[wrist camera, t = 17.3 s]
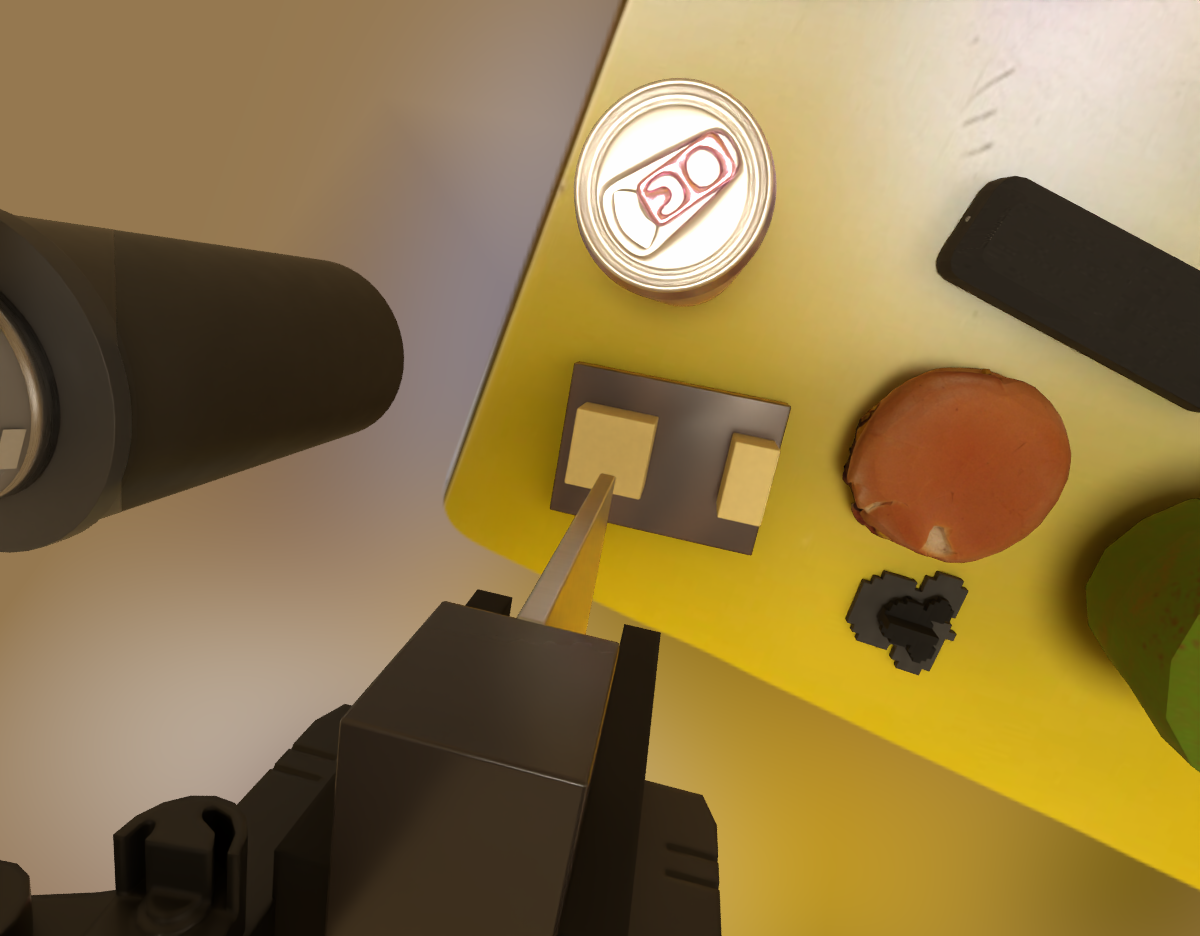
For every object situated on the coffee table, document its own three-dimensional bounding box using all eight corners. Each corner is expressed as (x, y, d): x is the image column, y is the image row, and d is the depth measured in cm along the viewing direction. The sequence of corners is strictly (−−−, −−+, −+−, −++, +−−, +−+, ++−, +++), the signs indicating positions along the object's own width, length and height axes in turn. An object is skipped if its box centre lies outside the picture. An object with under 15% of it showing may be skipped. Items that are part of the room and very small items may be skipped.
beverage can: (767, 263, 31) (821, 219, 17) (666, 328, 33) (637, 338, 18) (706, 158, 31) (709, 17, 16) (606, 229, 32) (527, 160, 18)
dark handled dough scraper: (561, 464, 15) (336, 719, 6) (656, 484, 15) (588, 785, 6) (521, 702, 17) (302, 1196, 8) (605, 724, 17) (488, 1260, 7)
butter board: (554, 503, 36) (549, 509, 35) (578, 361, 34) (574, 362, 33) (749, 548, 35) (751, 556, 34) (788, 403, 33) (791, 406, 32)
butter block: (573, 471, 34) (563, 483, 32) (586, 401, 33) (576, 408, 31) (644, 487, 34) (639, 500, 31) (658, 416, 33) (655, 424, 30)
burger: (1046, 356, 30) (1105, 364, 26) (1033, 536, 32) (1085, 572, 28) (834, 371, 32) (855, 381, 28) (834, 541, 34) (854, 575, 30)
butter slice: (715, 503, 33) (716, 517, 31) (733, 431, 32) (735, 441, 30) (756, 512, 33) (760, 527, 31) (775, 440, 32) (781, 450, 30)
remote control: (1272, 326, 29) (992, 170, 29) (1309, 327, 27) (1011, 162, 27) (1195, 417, 30) (927, 269, 30) (1225, 424, 29) (942, 267, 28)
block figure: (886, 568, 32) (996, 602, 31) (874, 551, 34) (976, 583, 33) (843, 666, 33) (946, 700, 33) (834, 644, 35) (931, 675, 35)
